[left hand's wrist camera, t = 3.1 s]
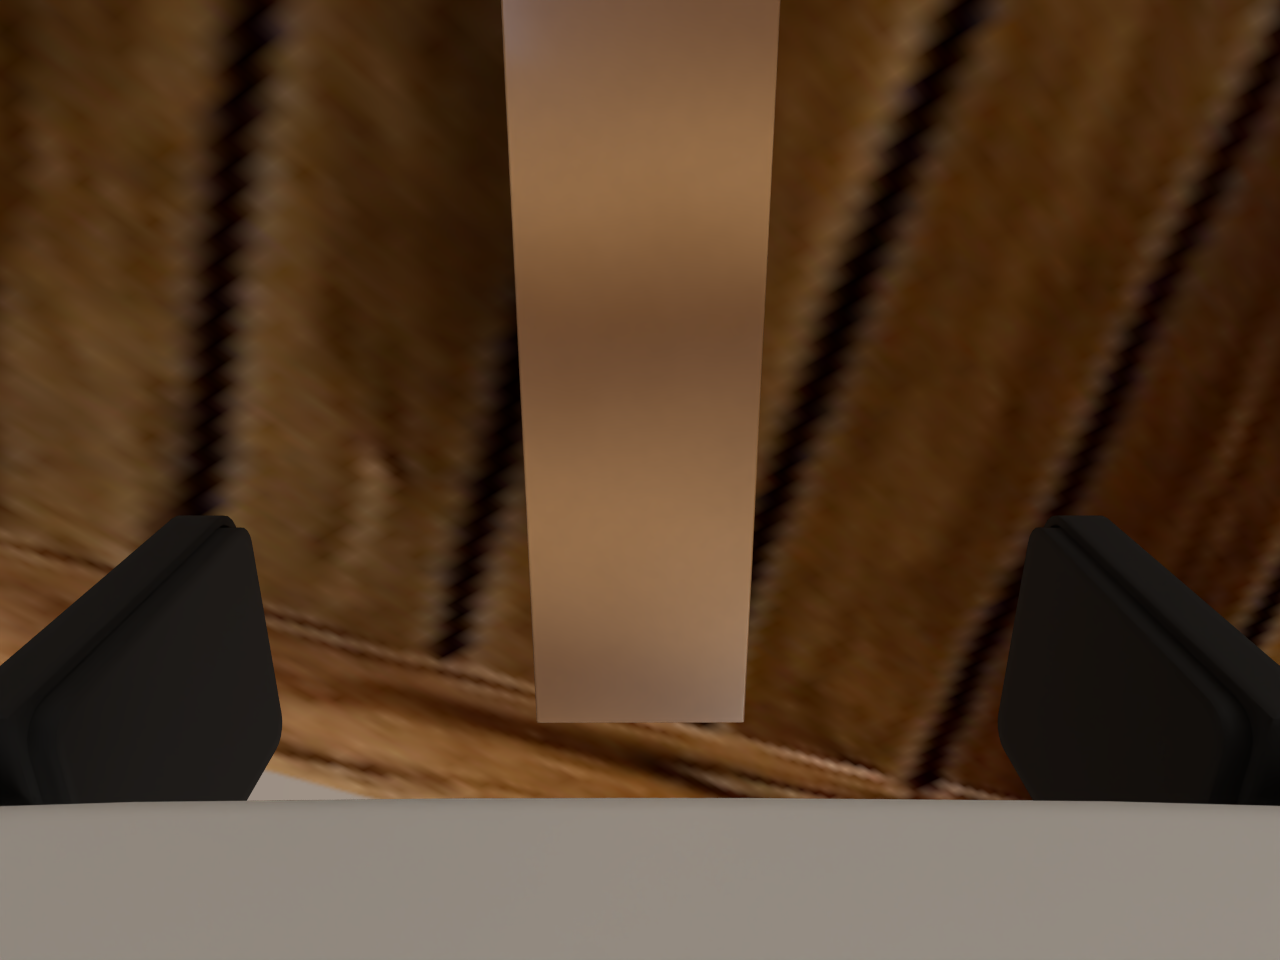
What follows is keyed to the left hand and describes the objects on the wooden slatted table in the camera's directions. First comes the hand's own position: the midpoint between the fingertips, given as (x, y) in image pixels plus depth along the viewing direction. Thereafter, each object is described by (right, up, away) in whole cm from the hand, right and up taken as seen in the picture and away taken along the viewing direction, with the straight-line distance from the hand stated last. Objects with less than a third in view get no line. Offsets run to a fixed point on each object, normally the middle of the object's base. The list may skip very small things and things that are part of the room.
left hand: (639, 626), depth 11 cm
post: (0, +23, +9) cm, 24 cm away
